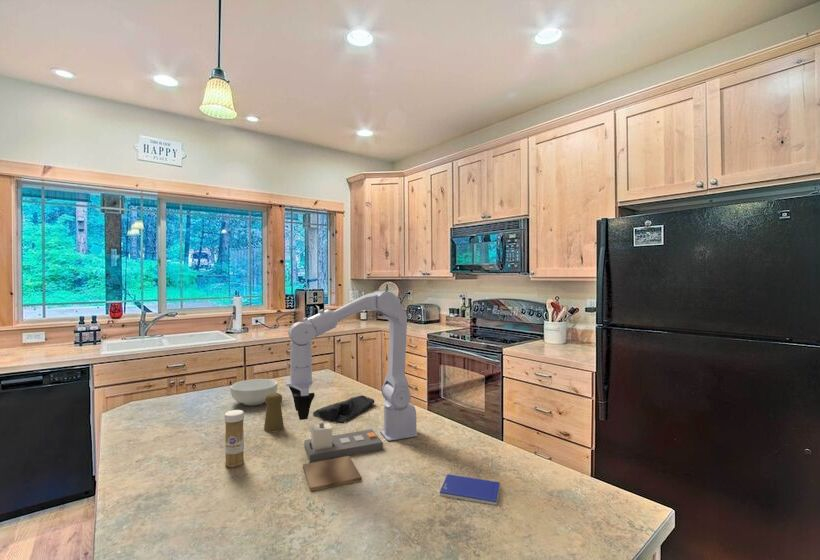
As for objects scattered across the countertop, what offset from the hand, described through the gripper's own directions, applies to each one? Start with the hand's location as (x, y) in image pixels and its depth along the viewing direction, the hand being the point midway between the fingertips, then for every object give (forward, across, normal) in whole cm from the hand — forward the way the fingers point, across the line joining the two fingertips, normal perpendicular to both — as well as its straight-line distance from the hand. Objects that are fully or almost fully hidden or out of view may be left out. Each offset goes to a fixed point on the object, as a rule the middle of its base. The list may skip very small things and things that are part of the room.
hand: (301, 414), depth 111 cm
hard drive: (+11, +36, +33) cm, 50 cm away
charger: (+10, +3, +5) cm, 12 cm away
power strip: (+10, +3, +11) cm, 15 cm away
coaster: (+10, +16, +5) cm, 20 cm away
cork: (+10, -20, -6) cm, 23 cm away
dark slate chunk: (+11, -27, +19) cm, 35 cm away
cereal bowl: (+10, -50, -11) cm, 52 cm away
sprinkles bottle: (+10, +1, -17) cm, 20 cm away
